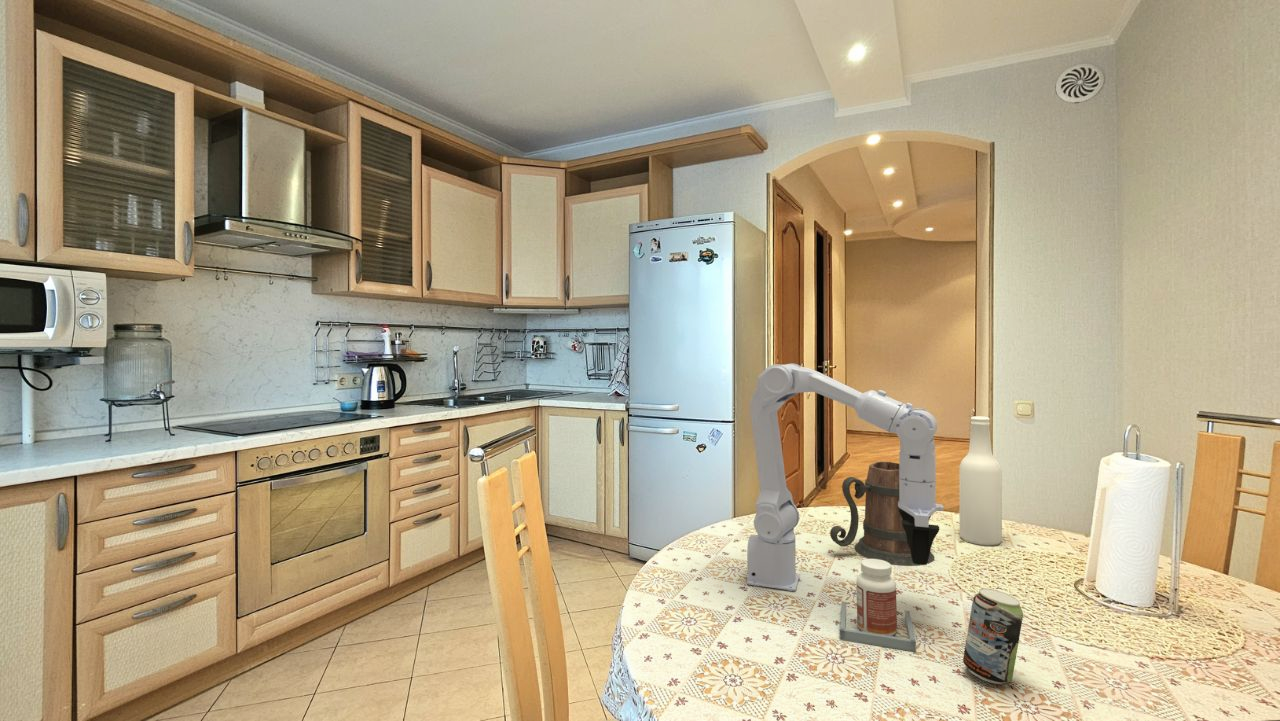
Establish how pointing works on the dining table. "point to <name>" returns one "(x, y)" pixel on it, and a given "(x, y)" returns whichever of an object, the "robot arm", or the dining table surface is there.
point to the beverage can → (993, 636)
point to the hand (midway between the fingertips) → (917, 555)
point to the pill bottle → (876, 598)
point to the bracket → (878, 635)
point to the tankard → (877, 517)
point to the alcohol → (980, 489)
